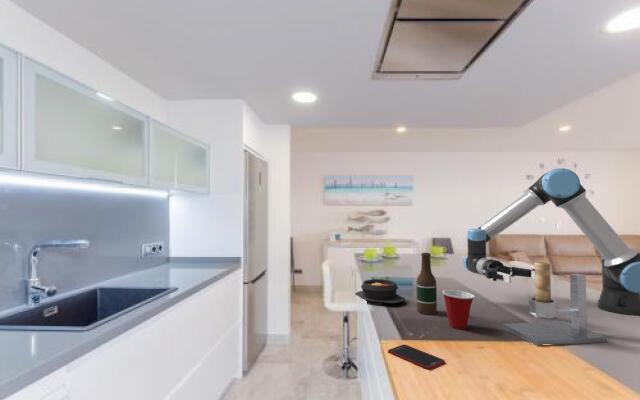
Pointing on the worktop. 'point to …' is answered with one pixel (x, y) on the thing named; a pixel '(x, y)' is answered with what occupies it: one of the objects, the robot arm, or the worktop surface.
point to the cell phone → (417, 357)
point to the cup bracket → (559, 329)
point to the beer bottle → (426, 288)
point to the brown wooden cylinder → (542, 282)
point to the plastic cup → (458, 307)
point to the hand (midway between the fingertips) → (528, 278)
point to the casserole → (380, 291)
